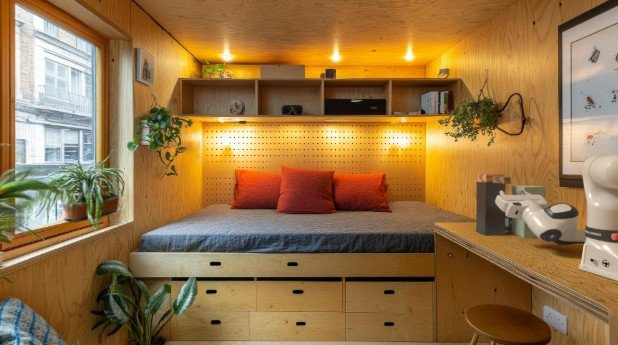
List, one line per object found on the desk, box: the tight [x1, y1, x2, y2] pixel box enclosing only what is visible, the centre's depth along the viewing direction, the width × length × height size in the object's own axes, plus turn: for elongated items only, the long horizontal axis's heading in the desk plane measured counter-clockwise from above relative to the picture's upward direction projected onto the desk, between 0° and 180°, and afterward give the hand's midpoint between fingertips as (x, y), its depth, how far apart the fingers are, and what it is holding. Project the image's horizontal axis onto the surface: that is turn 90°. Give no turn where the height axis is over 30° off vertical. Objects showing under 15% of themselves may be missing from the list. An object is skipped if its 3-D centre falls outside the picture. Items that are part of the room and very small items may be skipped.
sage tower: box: [511, 184, 546, 239], centre depth 172 cm, size 10×10×24 cm
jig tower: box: [475, 181, 507, 237], centre depth 177 cm, size 8×10×26 cm
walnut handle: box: [477, 172, 512, 185], centre depth 171 cm, size 18×9×4 cm, turn 3°
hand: (511, 191), depth 160 cm, fingers open, 8 cm apart
